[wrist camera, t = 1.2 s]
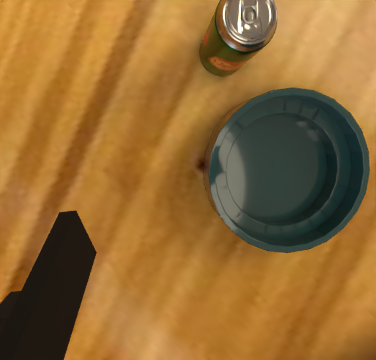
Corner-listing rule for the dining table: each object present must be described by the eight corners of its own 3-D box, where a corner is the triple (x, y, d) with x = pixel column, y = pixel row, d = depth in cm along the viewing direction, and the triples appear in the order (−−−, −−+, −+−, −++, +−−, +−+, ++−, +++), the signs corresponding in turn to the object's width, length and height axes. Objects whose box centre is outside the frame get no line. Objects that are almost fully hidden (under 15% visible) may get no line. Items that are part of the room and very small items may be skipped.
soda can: (201, 79, 37) (219, 51, 25) (196, 31, 37) (214, -19, 25) (245, 75, 38) (284, 46, 26) (241, 28, 37) (280, -23, 25)
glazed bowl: (194, 230, 39) (199, 244, 34) (212, 85, 37) (221, 76, 32) (329, 244, 41) (353, 259, 36) (354, 105, 39) (383, 100, 34)
